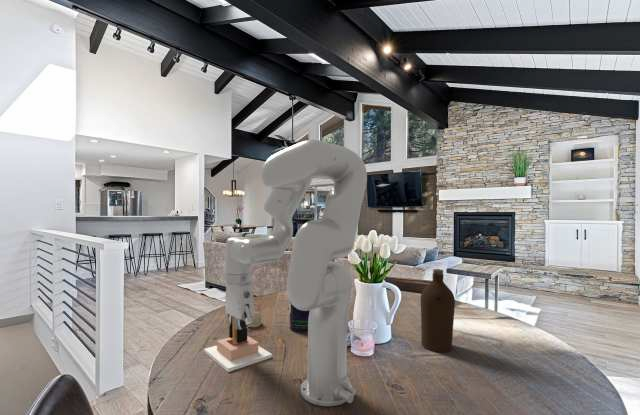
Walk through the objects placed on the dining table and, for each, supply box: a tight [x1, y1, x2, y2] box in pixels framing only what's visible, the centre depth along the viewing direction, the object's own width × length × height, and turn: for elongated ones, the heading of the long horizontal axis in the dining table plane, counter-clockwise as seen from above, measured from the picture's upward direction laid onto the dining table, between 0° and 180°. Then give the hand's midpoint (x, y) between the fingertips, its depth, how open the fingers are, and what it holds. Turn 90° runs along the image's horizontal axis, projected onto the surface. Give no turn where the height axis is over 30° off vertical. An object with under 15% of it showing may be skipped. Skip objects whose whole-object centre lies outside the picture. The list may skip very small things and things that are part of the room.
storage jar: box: [289, 301, 310, 334], centre depth 125 cm, size 10×10×15 cm
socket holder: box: [203, 335, 273, 373], centre depth 102 cm, size 16×14×4 cm
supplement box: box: [232, 316, 244, 346], centre depth 102 cm, size 3×3×10 cm
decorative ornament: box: [243, 310, 263, 328], centre depth 126 cm, size 4×8×5 cm, turn 125°
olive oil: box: [420, 268, 456, 353], centre depth 111 cm, size 11×11×25 cm
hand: (238, 338), depth 102 cm, fingers closed on supplement box, 3 cm apart
